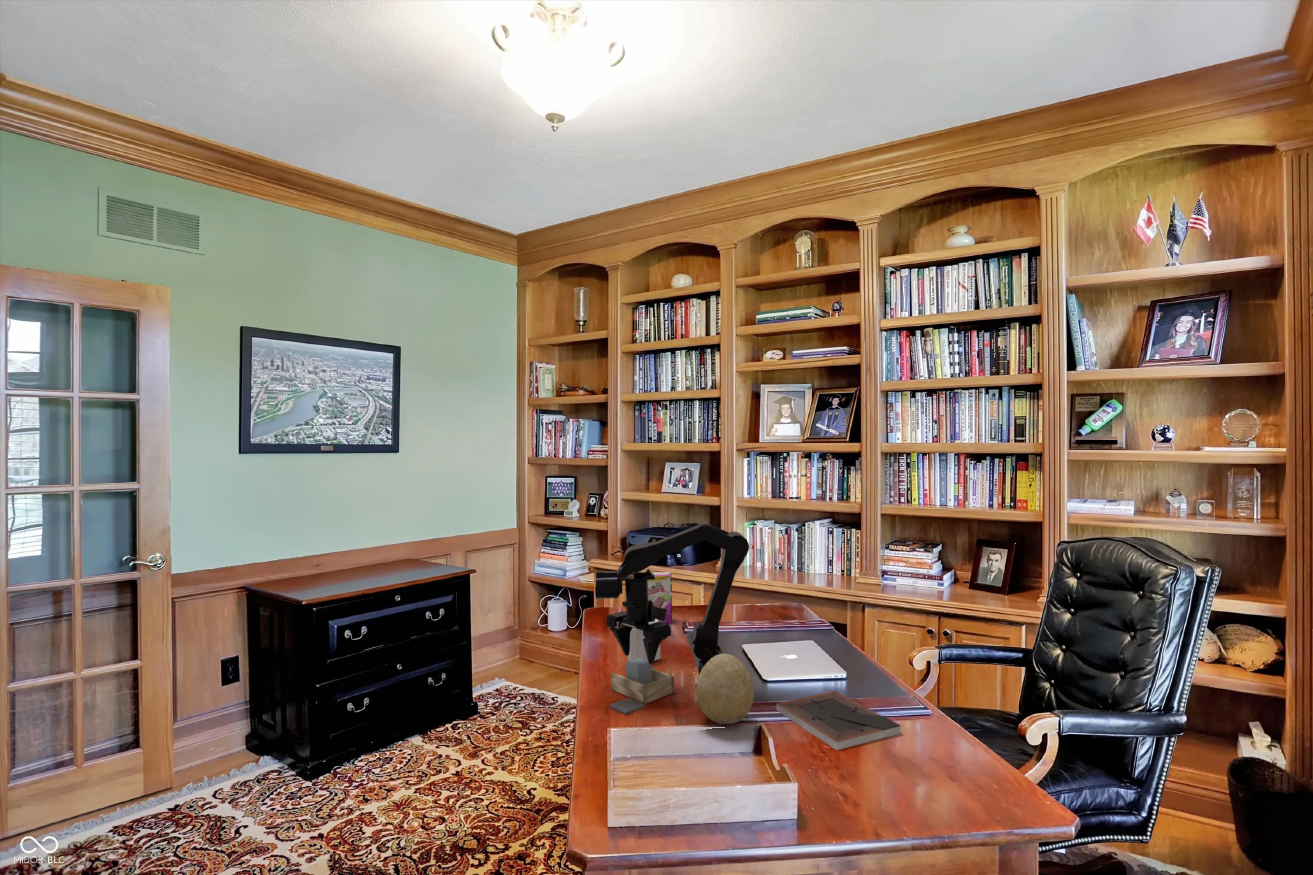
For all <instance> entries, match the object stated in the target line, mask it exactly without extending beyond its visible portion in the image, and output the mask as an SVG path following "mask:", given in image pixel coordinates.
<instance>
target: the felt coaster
mask: <svg viewBox="0 0 1313 875" xmlns="http://www.w3.org/2000/svg"><path fill="white" fill-rule="evenodd" d="M608 708H609V709H612V710H615V711H616V712H618V713H621V714H623V715H629V714H631V713H633V712H637V711H639V710H641V709H643V708H646V704H645V703H642V702H640V701H638V700H635V699H633V698H631V697H626V698H625V699H621V700H619V701H616V702H614V703H611V704H609V705H608Z"/></svg>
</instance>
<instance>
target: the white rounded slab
mask: <svg viewBox="0 0 1313 875" xmlns="http://www.w3.org/2000/svg"><path fill="white" fill-rule="evenodd" d="M656 622H659V621H658V619H655V621H654V622H649V624H653V623H656ZM644 638H645V637H644V635H643V631H642V630H639V629H636V628H632V630H631V632H630V652H629V655H628V656H627V662H628V661H631V660H634V659H637V658H642V659H645V660H648V659H647V655H646V651H645V646H644V642H643V639H644ZM660 659H661V644H660V645H659V647H658V650H657V653H656V656H655V660H654V662H656V661H658V660H660Z"/></svg>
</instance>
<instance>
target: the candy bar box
mask: <svg viewBox="0 0 1313 875" xmlns="http://www.w3.org/2000/svg"><path fill="white" fill-rule="evenodd" d="M652 573H653V574H655V579H654V580H648V599H649V600H651V601H652V602H653V606H657V607H661V608H665V609H667V614H666V618H665V622H664V621H662V620H658V621H659V622H662V623H666V624H668V625H670V624H671V625H672V624H673V589H672V588H673V587H672V586H673V584H672V582H673V581H672V580H673V579H672V572H667V571H665V572H652Z"/></svg>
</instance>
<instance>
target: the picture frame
mask: <svg viewBox="0 0 1313 875" xmlns="http://www.w3.org/2000/svg"><path fill="white" fill-rule="evenodd" d="M776 711H777V712H778V713H780V714H782V715H783V716H784V717H785V718H788V719H789V720H790V721H792V722H794V723H795V724H796V725H799V727H801V728H802V729H804V730H805V731H807V732H809V733H810V734H811V735H813V736H815V737H816V738H818V739H819V740H820V741H822V742H824V743H825V744H827V745H828V746H829V747H832V748H833V749H834V750H836V751H840V750H843V749H847V748H850V747H854V746H858V745H861V744H862V745H863V744H866V743H870V742H873V741H878V740H882V739H884V738H889V737H893V736H896V735H900V734H901V731H902V730H901V727H902V726H901V724H899V723H897V722H895V721H893V720H892V719H890V718H888V717H886V716H884V715H881V714H879V713H877V712H875V711H873V710H872V709H870V708H868V707H866V706H864V705H862V704H860V703H859V702H857V701H855V700H854V699H851V698H849V697H847V696H846V695H844V694H843V693H840V692H838V691H836V690H833V691H827V692H822V693H818V694H813V695H810V696H804V697H801V698H795V699H791V700H787V701H782V702H777V703H776Z"/></svg>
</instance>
